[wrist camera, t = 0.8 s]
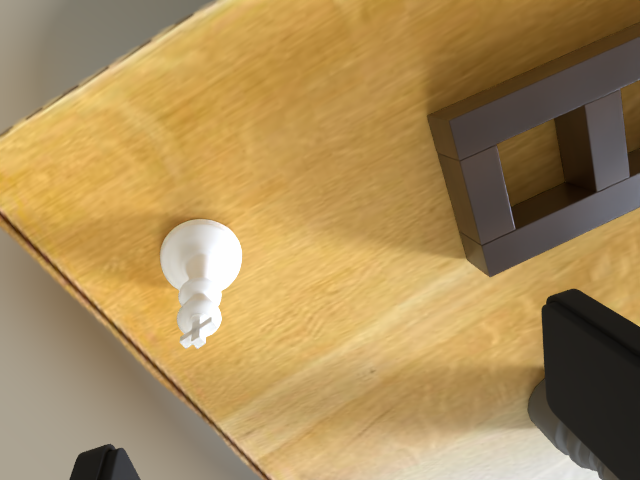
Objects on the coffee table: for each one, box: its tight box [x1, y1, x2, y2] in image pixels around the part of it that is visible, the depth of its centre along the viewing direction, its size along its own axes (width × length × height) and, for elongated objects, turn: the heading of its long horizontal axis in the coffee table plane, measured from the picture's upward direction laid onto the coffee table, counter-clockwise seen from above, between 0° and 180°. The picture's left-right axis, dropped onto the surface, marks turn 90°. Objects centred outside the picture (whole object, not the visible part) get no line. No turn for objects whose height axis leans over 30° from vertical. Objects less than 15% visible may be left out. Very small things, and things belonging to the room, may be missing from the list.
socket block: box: [427, 22, 640, 277], centre depth 31 cm, size 11×19×3 cm, turn 111°
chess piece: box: [160, 219, 242, 349], centre depth 25 cm, size 5×5×10 cm
